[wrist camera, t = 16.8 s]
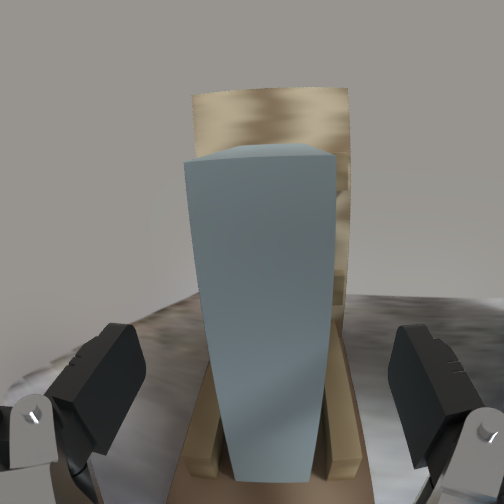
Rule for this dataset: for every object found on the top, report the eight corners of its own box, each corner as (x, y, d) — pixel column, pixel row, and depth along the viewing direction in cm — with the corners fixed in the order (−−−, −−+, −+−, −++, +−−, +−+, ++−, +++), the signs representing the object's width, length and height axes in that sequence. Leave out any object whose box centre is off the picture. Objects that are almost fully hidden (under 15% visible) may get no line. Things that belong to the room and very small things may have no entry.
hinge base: (335, 323, 30) (339, 93, 22) (374, 547, 9) (539, -17, 2) (224, 325, 31) (202, 99, 23) (161, 541, 10) (-38, 36, 3)
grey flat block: (303, 352, 24) (303, 143, 19) (308, 482, 13) (335, 155, 8) (239, 352, 25) (221, 147, 19) (214, 478, 14) (143, 166, 8)
